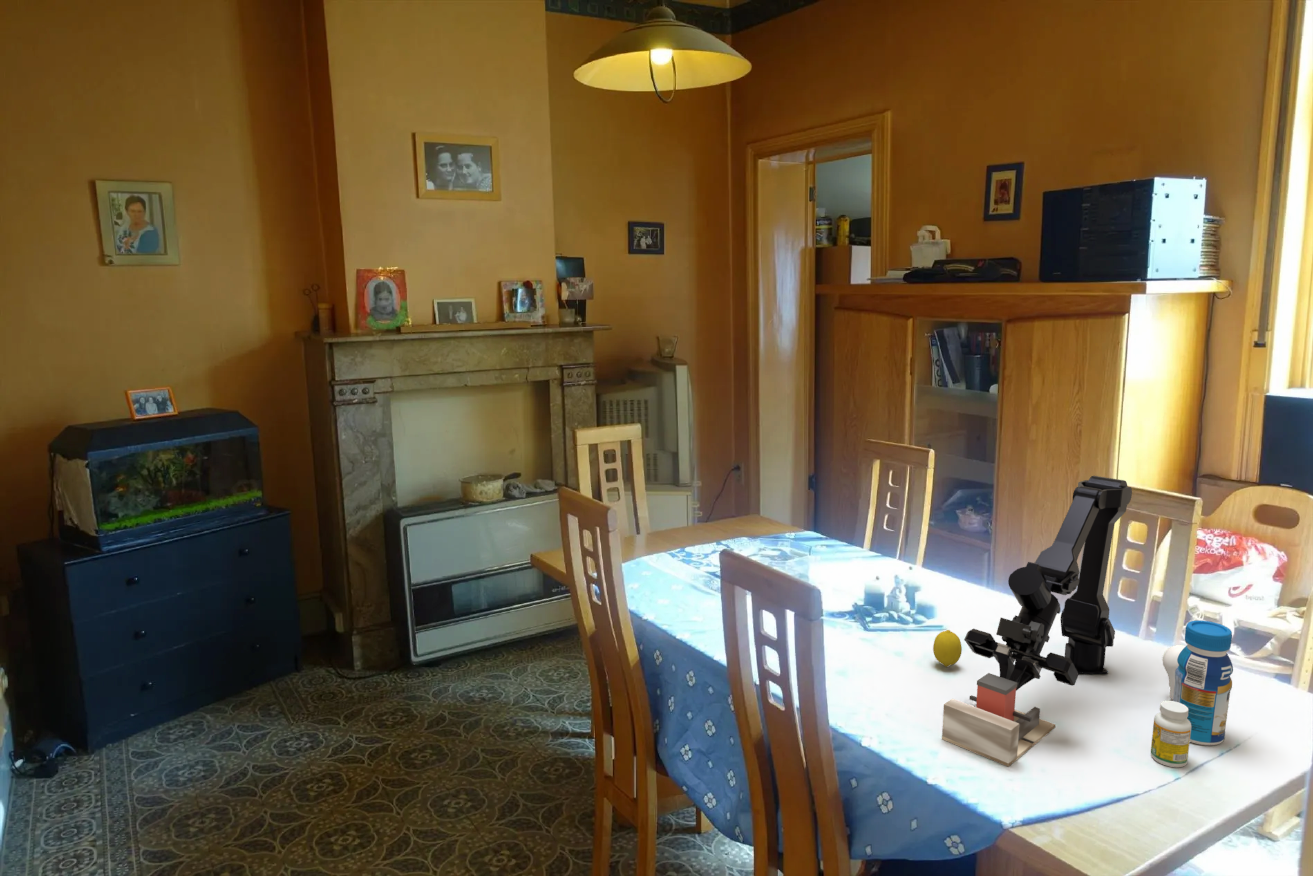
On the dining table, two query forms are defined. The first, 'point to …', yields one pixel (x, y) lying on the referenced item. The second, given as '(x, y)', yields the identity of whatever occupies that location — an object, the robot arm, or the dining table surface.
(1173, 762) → the supplement bottle
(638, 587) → the dining table surface
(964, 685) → the dining table surface
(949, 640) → the lemon
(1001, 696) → the red plug
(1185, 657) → the beverage bottle
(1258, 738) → the dining table surface
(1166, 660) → the lightbulb
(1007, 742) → the beige base board
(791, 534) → the dining table surface
